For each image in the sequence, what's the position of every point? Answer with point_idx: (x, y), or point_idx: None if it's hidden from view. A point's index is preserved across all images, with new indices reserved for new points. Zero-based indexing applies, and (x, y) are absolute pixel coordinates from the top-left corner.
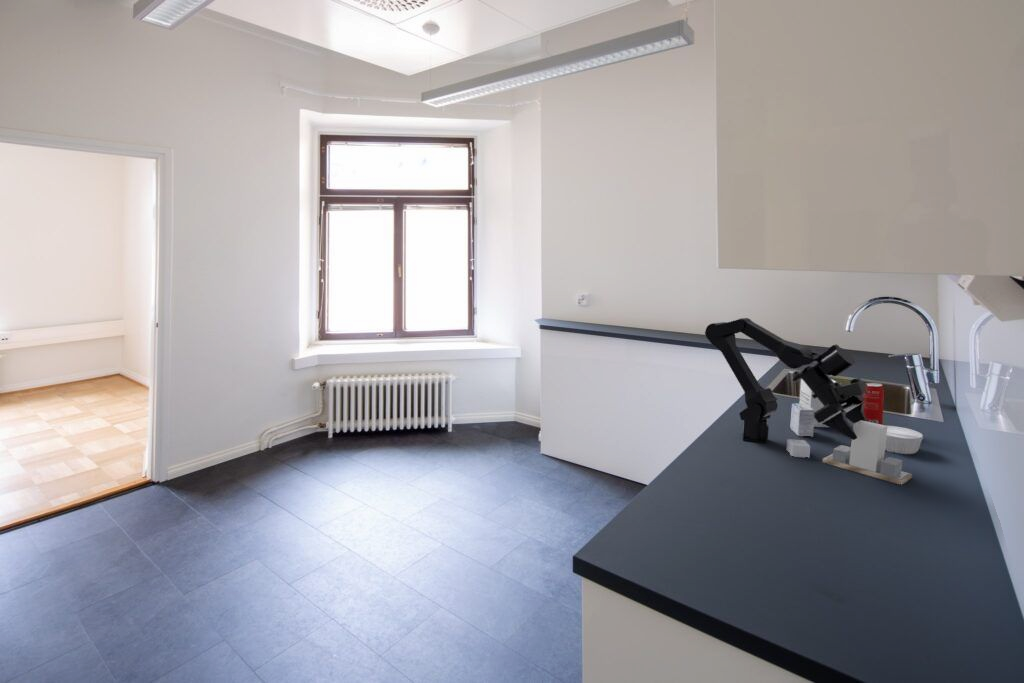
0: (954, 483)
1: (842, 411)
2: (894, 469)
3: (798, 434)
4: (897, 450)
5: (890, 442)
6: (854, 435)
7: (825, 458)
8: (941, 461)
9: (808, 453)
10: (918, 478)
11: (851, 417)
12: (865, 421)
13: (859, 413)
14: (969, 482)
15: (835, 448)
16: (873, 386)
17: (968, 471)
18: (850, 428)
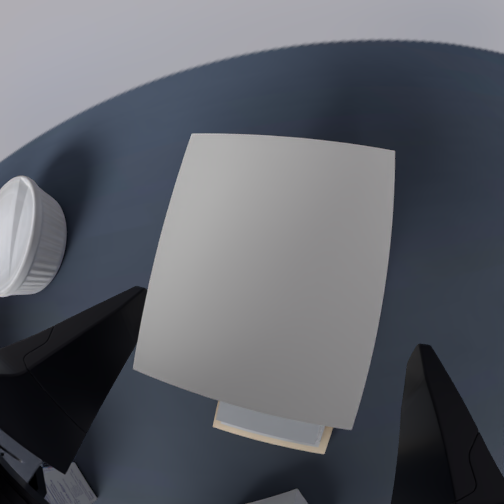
0: (237, 82)
1: (38, 476)
2: None
3: (94, 500)
4: (62, 235)
5: (44, 250)
6: (438, 364)
7: (312, 447)
8: (84, 146)
9: (297, 500)
10: None
11: (70, 426)
12: (150, 326)
13: (34, 382)
14: (205, 69)
15: (300, 438)
16: None
17: (126, 93)
18: (462, 412)
